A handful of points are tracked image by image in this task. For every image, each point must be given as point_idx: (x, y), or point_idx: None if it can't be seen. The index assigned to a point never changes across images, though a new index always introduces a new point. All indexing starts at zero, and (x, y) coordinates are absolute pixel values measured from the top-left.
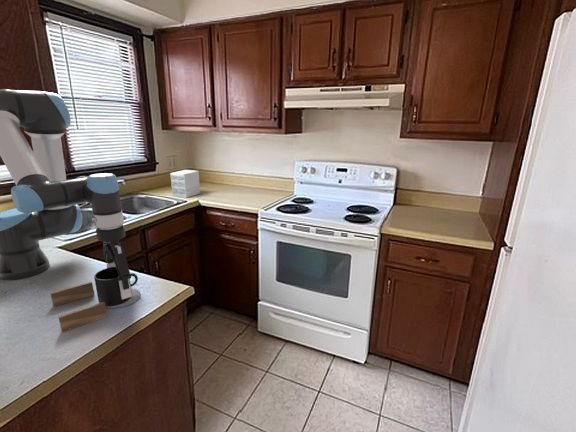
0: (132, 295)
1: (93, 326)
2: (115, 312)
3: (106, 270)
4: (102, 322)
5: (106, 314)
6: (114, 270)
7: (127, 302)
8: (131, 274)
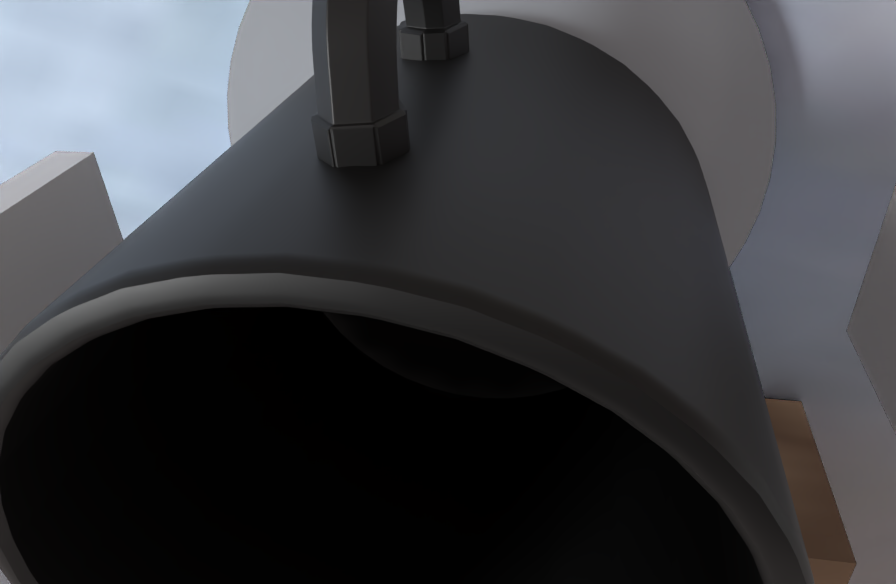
0: (556, 17)
1: (869, 524)
2: (795, 318)
3: (68, 558)
4: (880, 461)
5: (806, 424)
6: (65, 411)
7: (724, 153)
8: (382, 76)
